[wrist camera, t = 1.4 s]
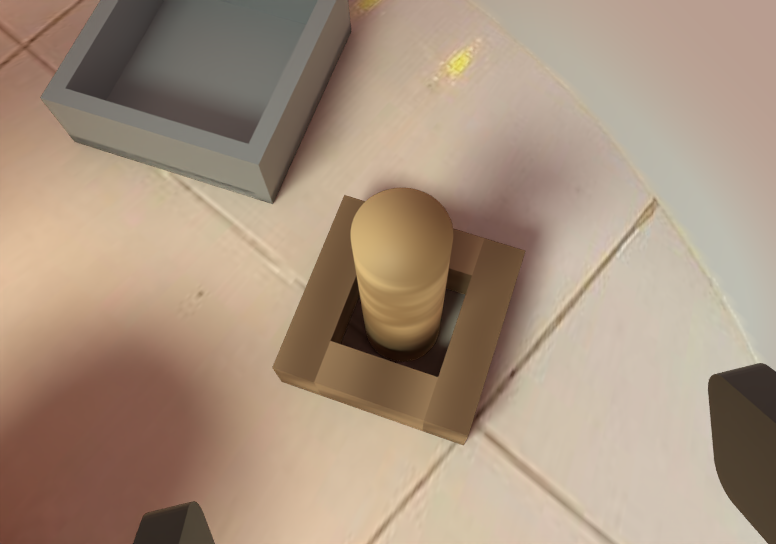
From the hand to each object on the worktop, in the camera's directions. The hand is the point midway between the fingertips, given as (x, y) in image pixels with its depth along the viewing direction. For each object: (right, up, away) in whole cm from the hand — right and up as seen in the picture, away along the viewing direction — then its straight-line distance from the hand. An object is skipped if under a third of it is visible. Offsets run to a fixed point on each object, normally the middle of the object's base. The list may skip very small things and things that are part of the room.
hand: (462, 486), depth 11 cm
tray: (-12, +15, +34) cm, 39 cm away
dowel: (0, 0, +28) cm, 28 cm away
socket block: (0, 0, +28) cm, 28 cm away
